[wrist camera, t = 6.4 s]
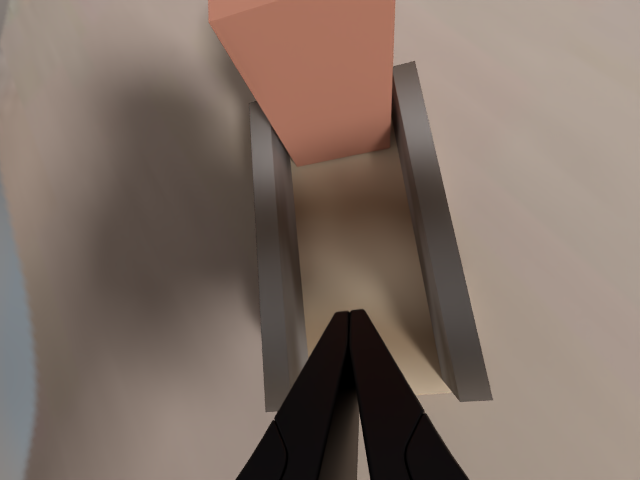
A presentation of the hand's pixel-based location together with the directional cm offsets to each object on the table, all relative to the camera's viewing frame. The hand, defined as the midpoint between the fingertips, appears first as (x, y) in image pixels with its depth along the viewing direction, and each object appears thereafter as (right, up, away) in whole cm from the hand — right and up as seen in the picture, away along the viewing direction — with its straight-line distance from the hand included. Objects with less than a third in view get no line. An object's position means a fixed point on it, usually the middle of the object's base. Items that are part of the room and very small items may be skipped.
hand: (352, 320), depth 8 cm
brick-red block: (0, +9, +8) cm, 12 cm away
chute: (+1, +3, +8) cm, 8 cm away
